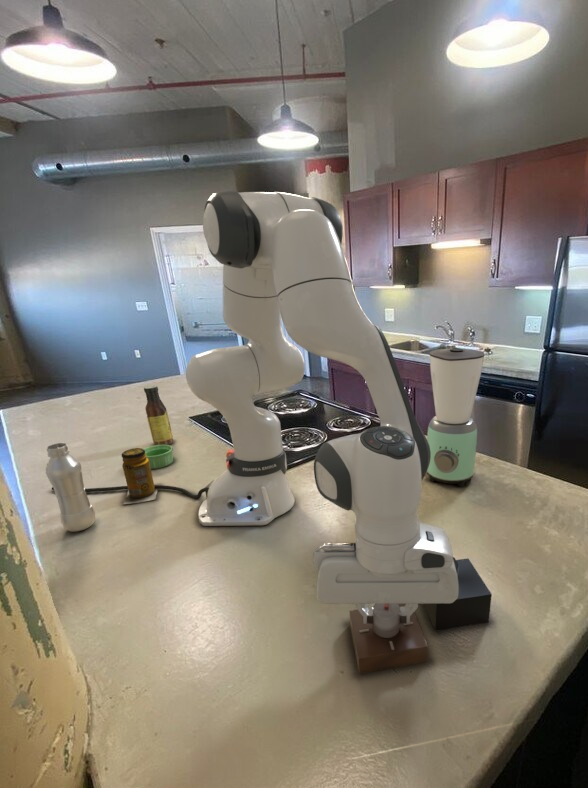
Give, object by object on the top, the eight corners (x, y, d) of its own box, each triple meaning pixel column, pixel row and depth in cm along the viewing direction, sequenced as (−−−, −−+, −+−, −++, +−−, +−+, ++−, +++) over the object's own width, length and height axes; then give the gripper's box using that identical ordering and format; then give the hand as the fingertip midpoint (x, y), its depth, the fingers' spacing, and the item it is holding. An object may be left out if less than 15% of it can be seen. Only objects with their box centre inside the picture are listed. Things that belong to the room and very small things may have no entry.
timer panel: (359, 674, 59) (358, 657, 57) (349, 624, 67) (349, 609, 66) (427, 661, 60) (427, 645, 59) (409, 615, 69) (410, 600, 67)
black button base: (430, 632, 65) (432, 594, 63) (413, 589, 74) (414, 554, 72) (488, 622, 67) (492, 584, 64) (464, 581, 76) (467, 547, 73)
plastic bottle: (62, 538, 91) (34, 454, 84) (66, 523, 96) (41, 443, 89) (96, 530, 93) (72, 448, 86) (99, 516, 99) (76, 438, 92)
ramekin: (135, 467, 124) (132, 453, 123) (160, 455, 132) (157, 442, 130) (158, 471, 121) (155, 458, 119) (181, 459, 129) (179, 446, 127)
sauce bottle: (177, 442, 142) (166, 385, 135) (160, 448, 137) (148, 390, 130) (166, 438, 146) (154, 383, 139) (149, 444, 141) (136, 387, 134)
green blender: (469, 494, 105) (480, 356, 93) (418, 486, 110) (421, 353, 97) (479, 464, 122) (489, 343, 109) (434, 458, 126) (439, 341, 114)
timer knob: (398, 639, 60) (399, 619, 59) (371, 636, 61) (371, 616, 60) (400, 618, 64) (400, 598, 63) (374, 615, 65) (374, 596, 63)
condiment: (158, 485, 113) (149, 444, 109) (155, 500, 106) (145, 457, 101) (128, 490, 111) (118, 448, 107) (123, 505, 103) (111, 461, 99)
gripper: (309, 558, 55) (315, 637, 60) (464, 557, 54) (457, 637, 59) (315, 530, 60) (320, 605, 65) (455, 529, 60) (450, 604, 65)
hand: (386, 620), depth 62 cm, fingers closed on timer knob, 4 cm apart
